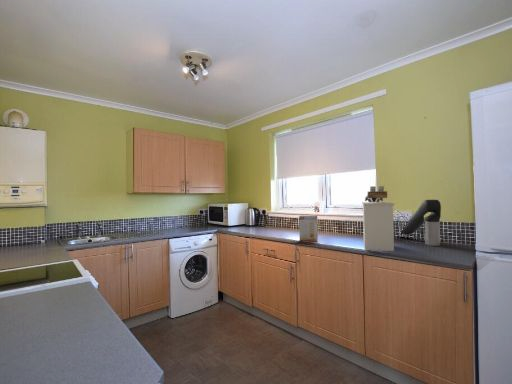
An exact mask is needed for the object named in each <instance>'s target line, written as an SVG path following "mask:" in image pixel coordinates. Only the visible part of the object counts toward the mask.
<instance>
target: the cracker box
mask: <svg viewBox="0 0 512 384" xmlns="http://www.w3.org/2000/svg"><path fill="white" fill-rule="evenodd" d="M298 218H299V219H298V220H299V221H298V222H299V224H298V227H299V228H298V229H299V241H303V242H318V241H319V238H318V237H319V234H318V233H319V231H318V230H319V229H318V215H310V214H309V215H303V214H302V215H299V216H298Z"/></svg>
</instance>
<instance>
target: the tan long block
mask: <svg viewBox="0 0 512 384" xmlns="http://www.w3.org/2000/svg"><path fill="white" fill-rule="evenodd" d="M376 187H377V188H376ZM369 188H370V189H369V191H367V195H366V196H367V198H379V199H380V198H383V199H388V191H385V189H384V188H385V186H384V185H382V186H381V185H380V186H375V185H374V186H369ZM376 189H377V191H376Z"/></svg>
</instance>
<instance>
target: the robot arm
mask: <svg viewBox="0 0 512 384" xmlns="http://www.w3.org/2000/svg"><path fill="white" fill-rule="evenodd" d="M383 199H384V198H367V195H366V196H365V197H364V202H384V201H383ZM441 211H442V205H441V202H440V200H439V199H425V200H423V201H422V203H421V204H420V206H419V207H418V209H417V210H416V211H415V213H414V214H413V215H411V217H410V218H409V219H408V221H407V222H406V225H404V226H405V228H404V229H403V230H402V231H401V234H403V233H404V234H410V233H413V232H414V231H415V232H416V231H418V229H419V228H420V227H421V226H422V225H423V224H424V244H425V245H427V246H432V247H433V246H434V247H436V246H438V247H439V246H440V245H441V234H440V233H441V232H440V231H441V229H440V227H441V225H440V224H441V222H440V220H441V213H442V212H441ZM428 213H430V214H428ZM426 214H428V215H427V216H426ZM394 221H395V220H393V224H394ZM415 232H414V233H415ZM414 233H413V234H414Z"/></svg>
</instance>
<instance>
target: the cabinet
mask: <svg viewBox="0 0 512 384" xmlns="http://www.w3.org/2000/svg"><path fill="white" fill-rule="evenodd" d="M361 204H362V213H363V214H362V220H363V221H362V223H363V224H362V225H363V229H362V230H363V247H364V250H365V251H382V252H385V251H386V252H395V240H394V239H395V235H394V234H395V232H394V231H395V230H394V229H395V227H394V224H393V221H394V206H395V203H394V202H391V201H379V202H369V201H362V203H361Z"/></svg>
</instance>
